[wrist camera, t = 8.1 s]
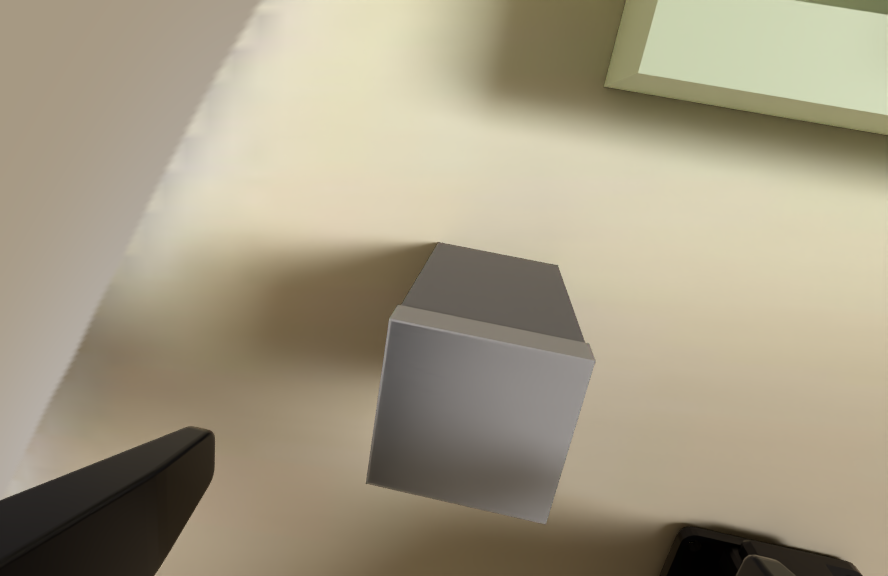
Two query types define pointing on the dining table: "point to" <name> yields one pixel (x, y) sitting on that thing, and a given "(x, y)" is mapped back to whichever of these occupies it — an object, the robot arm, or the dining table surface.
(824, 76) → the socket block
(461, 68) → the dining table surface
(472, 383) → the plug
